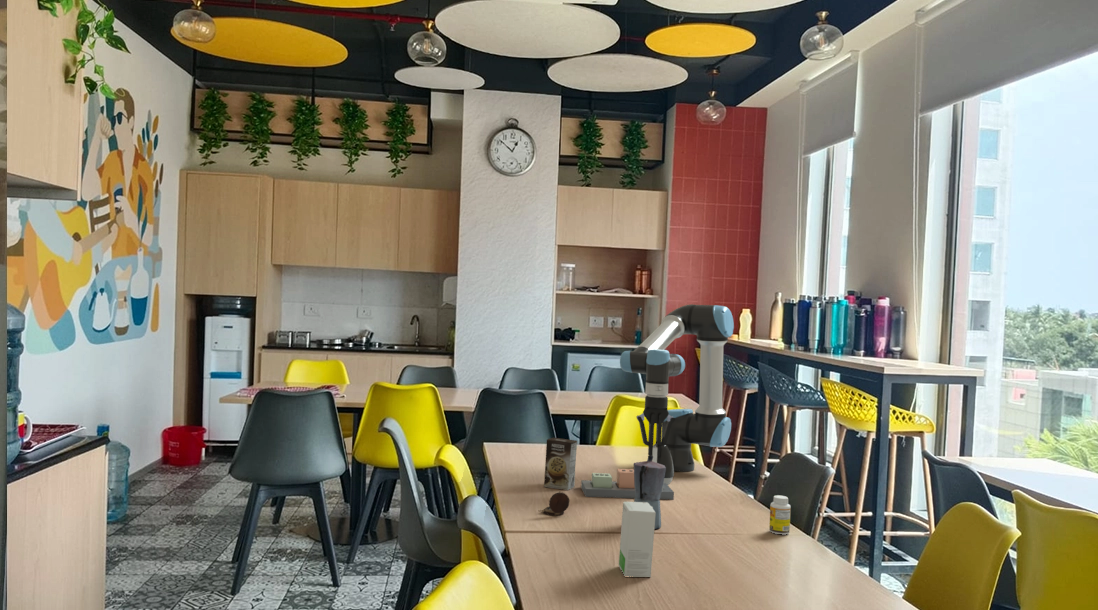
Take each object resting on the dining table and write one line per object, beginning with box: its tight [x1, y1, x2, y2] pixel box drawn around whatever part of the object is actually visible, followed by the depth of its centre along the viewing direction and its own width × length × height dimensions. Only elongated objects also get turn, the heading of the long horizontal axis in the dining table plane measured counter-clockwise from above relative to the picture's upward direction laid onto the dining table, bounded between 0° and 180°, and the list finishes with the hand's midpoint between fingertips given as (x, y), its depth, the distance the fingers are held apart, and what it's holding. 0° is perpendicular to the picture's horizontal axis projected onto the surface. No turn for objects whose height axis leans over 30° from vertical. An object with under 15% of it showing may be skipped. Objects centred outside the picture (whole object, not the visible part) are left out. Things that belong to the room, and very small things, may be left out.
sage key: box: [591, 472, 613, 488], centre depth 267 cm, size 6×6×5 cm
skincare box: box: [618, 501, 656, 578], centre depth 187 cm, size 8×7×16 cm
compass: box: [537, 491, 570, 516], centre depth 236 cm, size 8×8×7 cm
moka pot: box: [633, 455, 666, 530], centre depth 228 cm, size 10×15×20 cm, turn 161°
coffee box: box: [543, 437, 578, 491], centre depth 272 cm, size 9×6×16 cm
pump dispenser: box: [646, 443, 675, 486], centre depth 284 cm, size 10×10×15 cm
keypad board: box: [580, 479, 675, 501], centre depth 268 cm, size 29×13×2 cm, turn 94°
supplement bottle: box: [768, 494, 791, 536], centre depth 228 cm, size 6×6×10 cm
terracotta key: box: [616, 468, 635, 488], centre depth 268 cm, size 6×6×5 cm
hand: (653, 466), depth 269 cm, fingers closed
